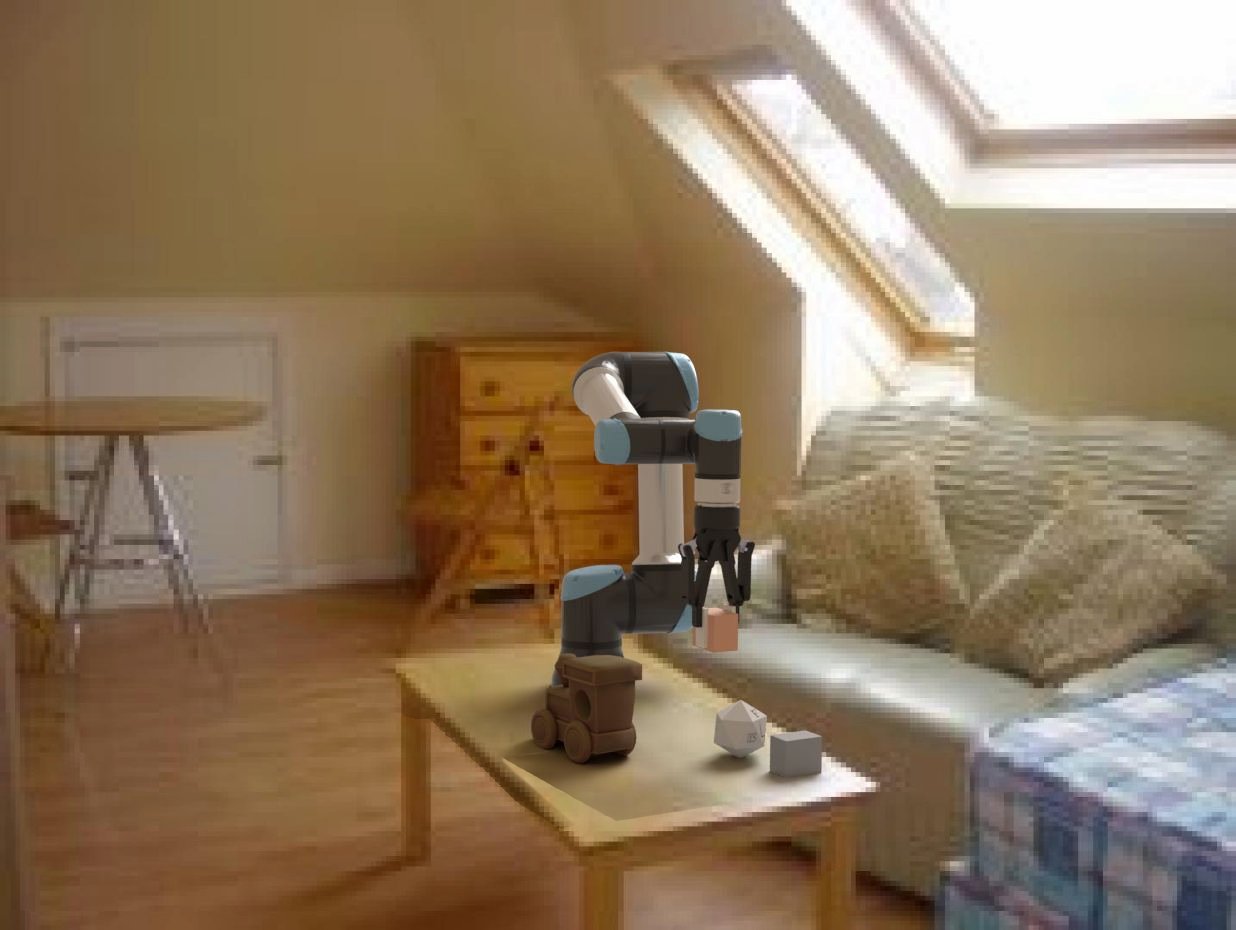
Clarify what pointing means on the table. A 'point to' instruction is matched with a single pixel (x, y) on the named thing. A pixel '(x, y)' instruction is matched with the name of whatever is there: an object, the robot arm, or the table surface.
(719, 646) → the salmon pink block
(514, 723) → the table surface
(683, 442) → the robot arm
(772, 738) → the gray rectangular block
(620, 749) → the wooden toy train
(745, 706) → the die
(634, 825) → the table surface
